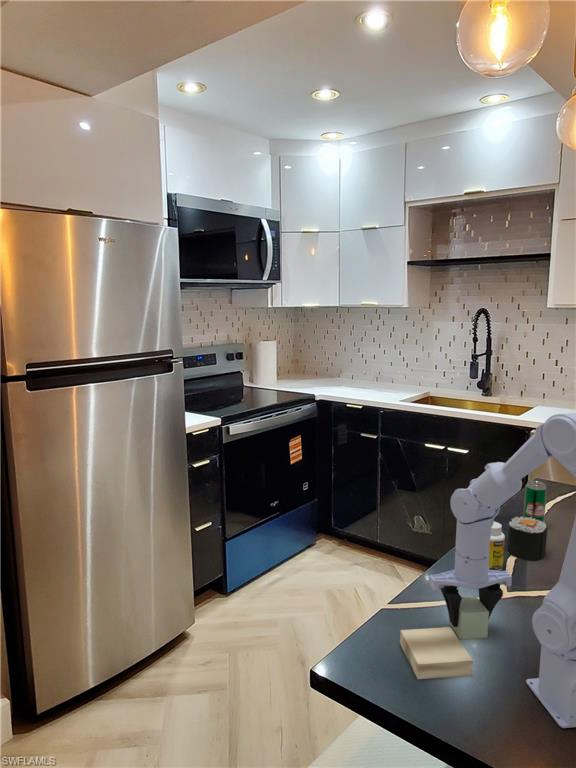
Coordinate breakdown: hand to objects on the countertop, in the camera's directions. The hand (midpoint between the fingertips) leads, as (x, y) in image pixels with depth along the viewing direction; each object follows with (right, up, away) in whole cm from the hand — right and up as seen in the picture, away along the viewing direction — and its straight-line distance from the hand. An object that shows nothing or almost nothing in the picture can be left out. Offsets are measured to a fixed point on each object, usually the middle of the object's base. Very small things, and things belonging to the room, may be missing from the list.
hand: (468, 622), depth 98 cm
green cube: (0, -1, 0) cm, 1 cm away
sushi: (+24, +3, +31) cm, 39 cm away
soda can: (+32, +5, +45) cm, 56 cm away
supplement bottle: (+13, +2, +23) cm, 27 cm away
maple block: (-8, -3, -8) cm, 12 cm away
